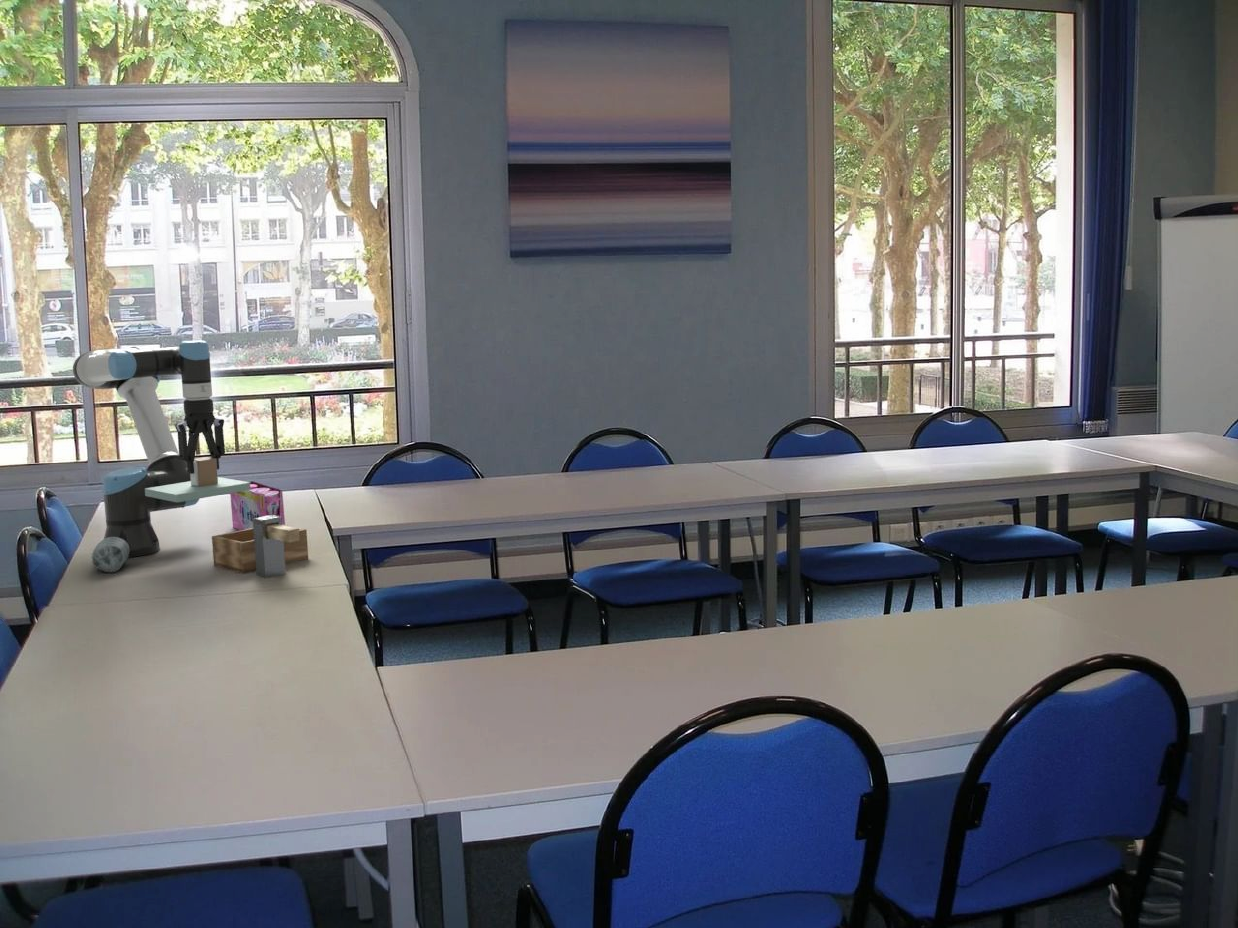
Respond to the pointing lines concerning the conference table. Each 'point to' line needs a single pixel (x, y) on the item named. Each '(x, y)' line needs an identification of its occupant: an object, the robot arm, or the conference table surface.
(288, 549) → the open wooden box
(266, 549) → the keeper
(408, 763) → the conference table surface
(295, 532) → the wooden bar
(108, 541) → the spool
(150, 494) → the lid
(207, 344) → the robot arm
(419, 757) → the conference table surface
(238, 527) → the gum box
